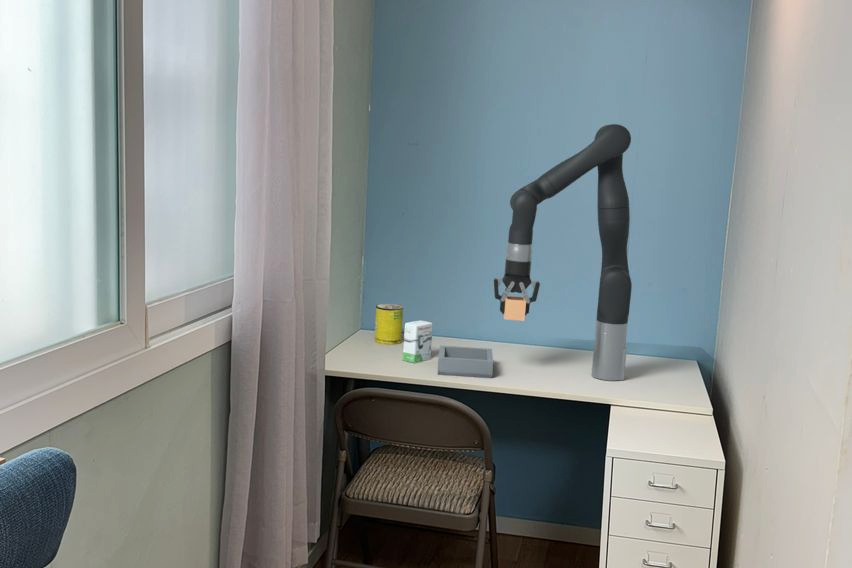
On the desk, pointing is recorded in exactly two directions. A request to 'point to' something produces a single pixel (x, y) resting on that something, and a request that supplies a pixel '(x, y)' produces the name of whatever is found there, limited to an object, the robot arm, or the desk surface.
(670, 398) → the desk surface
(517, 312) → the box
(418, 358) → the ink box
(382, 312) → the yellow tin can
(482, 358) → the big crate
